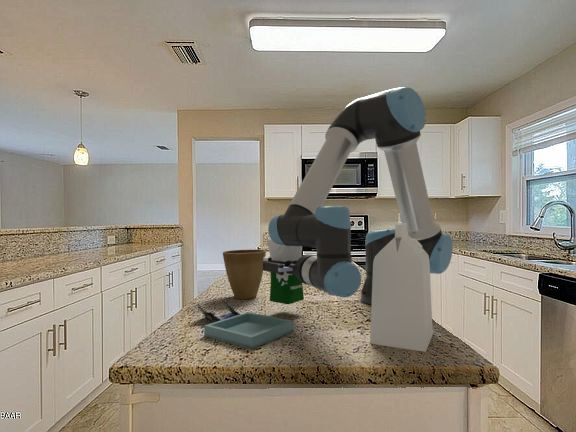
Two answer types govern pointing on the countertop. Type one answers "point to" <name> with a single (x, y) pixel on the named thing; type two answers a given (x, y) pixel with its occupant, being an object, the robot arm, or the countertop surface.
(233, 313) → the snack package
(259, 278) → the plant pot
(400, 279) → the milk
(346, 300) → the countertop surface
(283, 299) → the milk carton
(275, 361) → the countertop surface
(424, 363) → the countertop surface
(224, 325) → the tray
